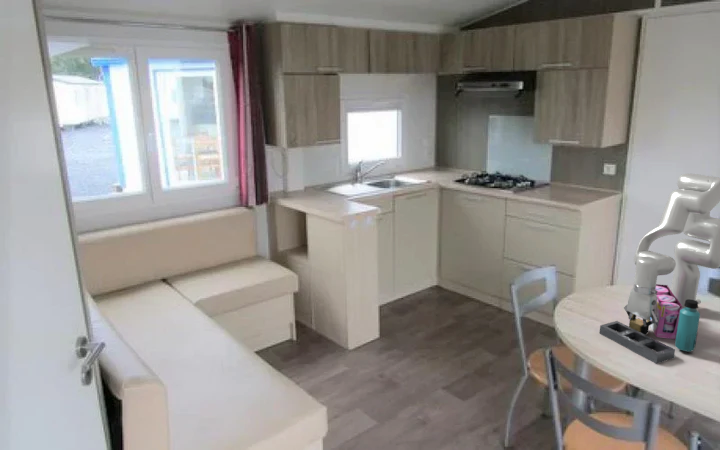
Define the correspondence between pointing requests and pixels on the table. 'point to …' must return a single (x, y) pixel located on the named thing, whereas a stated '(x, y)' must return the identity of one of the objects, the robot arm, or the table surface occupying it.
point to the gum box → (666, 313)
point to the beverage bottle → (687, 326)
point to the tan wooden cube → (636, 324)
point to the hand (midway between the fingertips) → (638, 330)
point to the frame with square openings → (642, 345)
